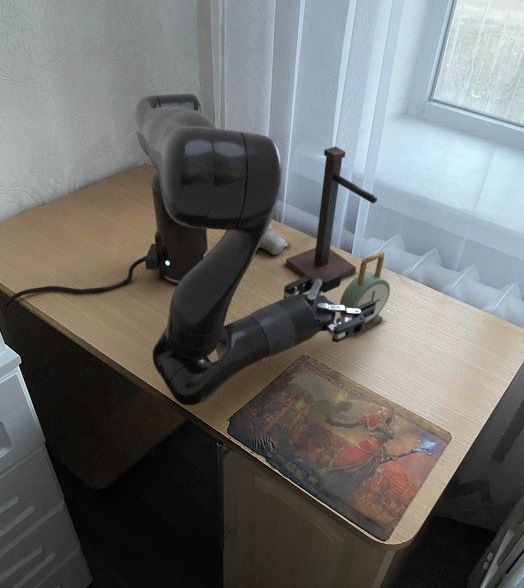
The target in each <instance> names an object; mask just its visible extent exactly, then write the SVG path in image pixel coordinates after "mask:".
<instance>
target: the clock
mask: <svg viewBox="0 0 524 588" xmlns="http://www.w3.org/2000/svg"><path fill="white" fill-rule="evenodd" d="M376 260H377V262H376V267H375V271H374V272H373V271H366V270H367V266H368V264H369V263H371V262H373V261H376ZM384 260H385V252H384V251H380V252H377V253H375V254H372V255H370V256H368V257H366V258H363V259H362V260H361V262H360V265H359V266H360V267H359V272H358V276H356V277H355V278H354V279H353V280H352V281H351V282H350V283H349V284H348V285H347V286H346V288H345V290H344V292H343V293H342V295H341V298H340V300H339V301H340V302H339V305H344V306H346V308H357V307H358V306H360V305H362V304H365V303H367V302H369V301H371V300H373V301H375V302H376V307H375V312H374V314H373V315H371V316H369V317H367V318H366V320H365V325H364V329H363V332H364V331H366V330H368V329H370V328H372V327H374V326H376V325H378V324H380V323H382V321H383V317H382V316H381V315H379V314H380V313H381V311H382V310H383V309H384V307H385V305H386V303H387V302H388V300H389V297H390V293H391V287H390V284H389V282H388V281H387V280H385V278H383V277H381V274H382V269H383V265H384ZM345 317H348V318H352V315H346V316H345Z"/></svg>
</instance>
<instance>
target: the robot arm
mask: <svg viewBox="0 0 524 588" xmlns="http://www.w3.org/2000/svg"><path fill="white" fill-rule="evenodd" d="M134 129H135V133H136V137H137V141H138V143H139V145H140V148H141V149H142V151H143V152H144V154H145V155H146V156H147V157H148V158H149V159H150V161H151V164H152V165H153V168H154V169H155V172H154V173H153V175H152V177H151V180H150V181H151V191H152V199H153V208H154V216H155V224H156V231H155V233H154V243H150V246H149V249H148V251H147V253H146V255H145V256H143V257H141V258H139V259H137V260H135V261H134V262H133V263H132V264H131V265H130V267H129V269H128V275H127V277H126V278H125V279H124V280H123V281H121V282H119V283H117V284H115V285H111V286H104V287H91V288H74V287H73V288H72V287H67V286H60V285H59V286H58V285H47V286H41V287H40V286H39V287H33V288H28V289H24V290H21V291H18V292H16V293H14V294H13V295H11V296H10V297H9V298H8V299H7V300H6V301H5V302H4V303H3V305H2V307H1V308H3V309H6V308H8V307H9V306H10V305H11V303H12V302H13V301H15V300H17V299H18V298H20V297H22V296H25V295H29V294H34V293H39V292H47V291H59V292H67V293H72V294H90V293H103V292H109V291H113V290H116V289H119V288H121V287H124V286H126V285H127V284H128V283H130V282H131V280H132V278H133V273H134V270H135V268H136V267H137V266H139V265H141V264H143V263H145V269H146V270H150V271H158V276H159V279H160V280H161V279H162V280H165V281H166V282H169V283H170V284H174V285H176V287H175V289H174V291H173V293H172V296H171V299H170V303H169V310H168V316H167V323H166V327H165V329H164V330H163V332H162V333H161V335H160V337H159V339H158V340H157V342H156V343H155V345H154V346H153V348H152V354H151V355H152V362H153V365H154V368H155V370H156V371H157V373H158V374H159V376H160V377H161V379H162V381H163V382H164V383H165V385H166V387H167V388H168V390H169V392H170V394H171V395H172V396H173V398H174V399H175V400H176V401H177V402H178V403H180V405H184V406H197V405H200V404H203V403H204V402H206V401H208V400H209V399H210V398H211V397H212V396H214V394H216V393H217V392H218V391H219V390H220V389H221V388H222V387H223V386H225V384H227V383H228V382H229V381H230V380H232V378H234V377H235V376H237V374H239V373H241V372H242V371H243V370H245V369H246V368H248V367H251V366H253V365H255V364H257V363H259V362H262V361H264V360H265V359H268V358H271V357H275V356H277V355H280V354H282V353H284V352H286V351H288V350H290V349H293V348H294V347H296V346H298V345H301V344H303V343H305V342H308V340H311V339H312V338H313V337H315V336H316V335H317V334H318V333H320V332H328V334H330V335H331V341H332V342H333V343H336V344H337V343H340V342H342V341H344V340H346V339H349V338H352V337H354V336H356V335H358V334H361V333H363V332H364V331H363V329H364V325H365V320H366V318H367V317H369V316H371V315H373V314H374V312H375V307H376V302H375V301H373V300H371V301H369V302H367V303H365V304H362V305H360V306H358V307H357V308H346V306H344V305H340V304H335V303H334V302H333V301H330V300H329V299H328V298H327V296H325V295H324V293H328V292H330V291H332V290H334V289H336V288H338V287H340V286H341V283H342V279H341V276H340V275H338V274H337V275H332V276H329V277H327V278H324V279H322V280H321V279H316V280H315V279H313V276H311V275H306V276H304V277H300V278H298V279H296V280H294V281H292V282H289V283H287V284H285V285H284V289H283V298H282V299H279V300H277V301H275V302H273V303H271V304H268V305H266V306H264V307H260V308H258V309H257V310H254V311H253V312H251V313H250V314H248V315H246V316H244V317H242V318H239V319H236V320H235V321H232V322H230V323H228V324H225V322H226V319H227V315H228V311H229V309H230V305H231V302H232V300H233V297H234V295H235V293H236V291H237V289H238V287H239V285H240V284H241V281H242V279H243V278H244V276H245V274H246V272H247V270H248V269H249V267H250V265H251V263H252V261H253V259H254V257H255V255H256V253H257V251H258V249H259V245H260V243H261V241H262V239H263V237H264V235H265V233H266V231H267V229H268V227H269V224H270V223H271V222H272V220H273V217H274V215H275V213H276V210H277V206H278V202H279V198H280V194H281V189H282V179H283V166H282V160H281V153H280V151H279V147H278V146H277V144H276V142H275V141H274V140H273V139H272V138H271V137H270V136H266V135H263V134H261V133H260V134H259V133H254V132H248V131H238V130H231V129H224V128H217V127H216V125H215V124H214V123H213V121H212V120H211V119H209V117H207V116H206V115H205V114H204V111H203V106H202V104H201V102H200V99H199V97H198V96H197V95H195V94H193V93H169V94H168V93H167V94H153V95H148V96H147V95H146V96H144V97H142V98H140V99H139V101H138V102H137V104H136V106H135V111H134ZM208 230H219V231H221V230H222V231H225V232H224V234H223V236H222V237H221V238H220V239H219V240H218V242H217V243H216V244H215V246H213V248H212V249H211V250H210V248H208ZM307 292H309V293H307ZM322 293H323V294H322ZM321 294H322V295H321ZM337 313H339V317H338V318H336V316H337V315H336V314H337ZM346 315H352V318H348V317H345V316H346ZM214 351H215V352H216V355H217V358H218V359H217V360H215V361H211V359H210V357H209V356H210V355H212V353H214Z"/></svg>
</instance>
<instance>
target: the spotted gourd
mask: <svg viewBox="0 0 524 588" xmlns="http://www.w3.org/2000/svg"><path fill="white" fill-rule="evenodd" d="M287 247H288V242H287V241H286V240H285V238H284V237H282V236H281V235H280V234H278V232H277V231H276V229H275V228H274V226H273V224H272V223H271V222H270V224H269V227H268V229H267V231H266V233H265V235H264V237H263V239H262V241H261V243H260V245H259V247H258V249H260V248H261V249H263V250H266V251H267V252H269V253H270V254H272V255H274V256H275V255H279V254H280V253H282V252H283V250H284V248H287Z"/></svg>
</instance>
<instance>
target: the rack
mask: <svg viewBox="0 0 524 588" xmlns="http://www.w3.org/2000/svg"><path fill="white" fill-rule="evenodd" d="M323 151H324V152H323V156H324V157H325V165H324V172H323V173H324V174H323V183H322V189H321V190H322V191H321V200H320V208H319V216H318V217H319V218H318V225H317V233H316V244H315V247H314V248H310V249H308V250H306V251H303V252H301V253H298V254H296V255H293V256H290V257H288V258H286V259H285V266H286V267H288V268H289V269H290V270H291V271H293V272H294V273H295V274H297V275H298V276H299V277H300V278H302V277H304V276H306V275H311V276H313V279H315V280H316V279H321V280H322V279H324V278H327V277H329V276H332V275H337V274H338V275H340V276H341V280H343V279H345V278H348V277H350V276H352V275H354V274H356V271H357V267H356V266H355V265H354V264H352V263H351V262H350V261H348V260H346V259H345V258H344V257H343V256H341V255H339V254H338V253H337V252H335V251H334V250H333V249H331V245H332V244H331V243H332V236H333V228H334V221H335V213H336V207H337V199H338V192H339V185H340V186H342V187H344V188H345V189H347V190H349V191H351V192H352V193H354V194H356V195H358V196H359V197H361V198H363V199H364V200H365V201H368V202H369V203H370V204H376V203H377V202H378V197H377V196H376V195H374V194H373V193H371V192H369V191H367V190H365V189H364V188H362V187H360V186H358V185H357V184H355V183H353V182H351V181H349V180H348V179H346V178H344V177H343V176H341V170H342V162H343V158H345V157H346V151H345V150H343V149H341V148H339V147H337V146H333V147H329V148H326V149H324V150H323Z"/></svg>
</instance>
